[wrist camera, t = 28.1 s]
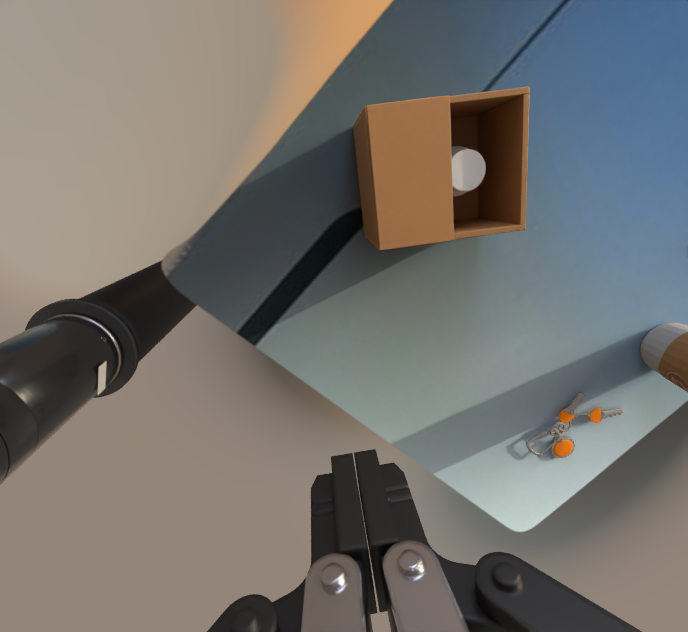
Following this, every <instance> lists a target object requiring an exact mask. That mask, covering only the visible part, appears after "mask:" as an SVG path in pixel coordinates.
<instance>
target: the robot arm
mask: <svg viewBox="0 0 688 632" xmlns="http://www.w3.org/2000/svg"><path fill="white" fill-rule="evenodd" d="M123 361H124V353H123V348H122V345H121V343H120V341H119V339H118V337H117V336H116V334H115V333H114V332H113V331H112V330H111V328H109V327H108V326H107V325H106V324H105V323H103V322H102V321H100V320H98V319H97V318H94V317H92V316H89V315H86V314H82V313H74V312H69V313H62V314H58V315H55V316H53V317H51V318H49V319H47V320H45V321H43V322H42V323H41V324H39V325H37V326H35V327H33V328H30V329H28V330H26V331H24V332H22V333H20V334H18V335H16V336H14V337H12V338H10V339H8V340H6V341H4V342H2V343H0V484H2V483H3V482H4V481H5V480H6V479H7V478H8V477H9V476H10V475H11V474H12V473H13V472H14V471H15V470H16V469H18V468H19V466H21V465H22V464H23V463H24V462H25V461H26V460H27V459H28V458H29V457H30V456H31V455H32V454H33V453H34V452H35V451H37V450H38V449H39V448H40V447H41V446H42V445H43V444H44V443H45V442H46V441H47V440H48V439H49V438H50V437H52V435H54V434H55V433H56V432H57V431H58V430H59V429H60V428H61V427H62V426H63V425H64V424H65V423H66V422H67V421H69V420H70V419H71V418H72V417H73V416H74V415H75V414H76V413H77V412H78V411H79V410H80V409H81V408H83V407H84V406H85V405H86V404H87V403H88V402H89V401H90V400H91V399H92V398H93V397H94V396H95V395H97V394H98V395H99V394H100V393H101V392H102V391H103V390H104V389H105V387H106V386H107V385H108V384H110V383H111V382H112V381H113V380H114V379H115V378H116V377H117V376H118V374H119V373H120V371H121V369H122V366H123ZM354 456H355V463H356V470H357V477H358V484H359V491H360V497H359V491H358V485H357V479H356V473H355V467H354V461H353V455H352V453H350V454H344V455H338V456H332V457H331V463H332V473H330V474H324V475H318V476H317V477H316V479H315V481H314V483H313V486H312V488H311V566H310V569H309V571H308V573H307V576H306V578H305V579H304V581H303V582H302V583H301V584H300V585H299V586H298V587H297V588H296V589H295V590H294V591H292V592H291V593H289V594H287V595H285V596H283V597H282V598H280V599H278V600H276V601H274V602H271V601H270V600H269V599H268V598H266V597H264V596H262V595H255V594H253V595H248V596H244V597H242V598H240V599H238V600H236V601H235V602H234V603H232V604H231V605H230V606H229V607H228V608H227V609H226V610H225V611H224V612H223V614H222V615H221V616H220V617H219V618H218V620H217V621H216V622H215V623H214V624H213V625H212V627H211V628H210V629H209V630H208V631H207V632H373V631H372V624H371V617H370V614H374V613H377V607H376V601H375V594H374V586H373V580H372V573H371V565H370V558H369V551H370V557H371V563H372V569H373V575H374V580H375V587H376V593H377V599H378V605H379V611H380V612H384V611H388V616H389V622H390V627H391V632H642V631H640V630H638V629H637V628H635V627H633V626H632V625H630V624H628V623H627V622H625V621H623V620H621V619H620V618H618V617H617V616H615V615H613V614H611V613H610V612H608V611H607V610H604V609H603V608H601V607H600V606H598V605H596V604H595V603H593V602H592V601H590V600H588V599H586V598H585V597H583V596H581V595H580V594H578V593H577V592H575V591H573V590H572V589H570V588H568V587H567V586H565V585H563V584H561V583H560V582H558V581H557V580H555V579H553V578H552V577H550V576H548V575H546V574H545V573H543V572H541V571H540V570H538V569H537V568H535V567H533V566H531V565H530V564H528V563H527V562H525V561H523V560H522V559H520V558H518V557H516V556H514V555H511V554H508V553H504V552H493V553H489V554H487V555H485V556H483V557H482V558H481V559H480V560H479V561H478V563H477V565H469V564H461V563H456V562H452V561H449V560H447V559H445V558H443V557H441V556H440V555H438V554H437V553H436V552H435V551H434V550H433V549H432V548H431V547H430V545H429V544H428V542H427V539H426V537H425V534H424V531H423V528H422V525H421V522H420V519H419V516H418V513H417V510H416V507H415V504H414V501H413V499H412V495H411V493H410V490H409V487H408V484H407V481H406V478H405V475H404V472H403V471H402V470H400V468H399V467H398V466H397V465H396V464H395V463H389V464H383V465H379V461H378V458H377V453H376V450H374V449H373V450H367V451H361V452H356V453H354ZM360 498H361V503H360ZM361 504H362V509H361ZM362 510H363V516H364V521H363V516H362ZM364 522H365V527H364ZM365 528H366V533H365ZM366 534H367V539H366ZM367 540H368V545H369V551H368V545H367Z"/></svg>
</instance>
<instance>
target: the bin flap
mask: <svg viewBox="0 0 688 632" xmlns="http://www.w3.org/2000/svg"><path fill="white" fill-rule="evenodd" d="M366 112H367V123H368V134H369V144H370V155H371V166H372V177H373V187H374V198H375V209H376V220H377V231H378V241H379V250H387V249H394V248H401V247H409V246H416V245H424V244H431V243H438V242H446V241H453V240H454V224H453V189H452V155H451V120H450V95H447V96H439V97H431V98H423V99H415V100H407V101H399V102H391V103H382V104H374V105H367V106H366Z"/></svg>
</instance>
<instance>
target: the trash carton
mask: <svg viewBox="0 0 688 632" xmlns="http://www.w3.org/2000/svg"><path fill="white" fill-rule="evenodd" d="M529 93H530V87H521V88H513V89H505V90H497V91H489V92H481V93H473V94H465V95H457V96H450V120H451V147H453V146H462V147H466V148H468V149H472V150H475V151H477V152H478V153H480V154H481V156H482V157H483V159H484V161H485V166H486V171H485V176H484V178H483V180H482V182H481V183H480V184H479V186H477V187H476V188H475V189H473V190H471V191H468V192H467V193H465V194H463V195H460V196H456V197H453V224H454V239H461V238H468V237H475V236H483V235H490V234H498V233H505V232H512V231H520V230H525V223H526V193H527V160H528V127H529V95H530V94H529ZM353 132H354V141H355V151H356V160H357V170H358V180H359V189H360V199H361V208H362V218H363V228H364V236H365V237H366V238H367V239H368V240H369V241H370V242H371V243H372V244H373V245H374V246H375V247H376V248H377V249H378V250H379V241H378V231H377V220H376V209H375V198H374V187H373V177H372V166H371V155H370V144H369V134H368V123H367V112H366V107H364V109H363V110H362V112H361V114H360V116H359V117H358V119H357V121H356V122H355V124H354V126H353Z"/></svg>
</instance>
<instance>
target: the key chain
mask: <svg viewBox="0 0 688 632" xmlns="http://www.w3.org/2000/svg"><path fill="white" fill-rule="evenodd" d="M584 396H585V395H584V394H583V393H579V394H577V397H576V399H575V398H574V401H571V406H570V405H569V406H568V407H567V408H568V409H563V410H562V411H561V412H560V414H559V420H560V421H559V422H558V423H555V424H554V425H553V426H552V427H551V428H549V429H547V430H545V431H543V432H541V433H539V434H538V435H536V436H534V437H532V438H531V439H529V440H528V441H527V442H526V445H527V447H528V449H529V450H530V451H531V452H532V453H533V454H535V455H537V456H541V455H542V454H544V452H545V451H547V450H548V449H549V448H550V447H551V452H552V454H553V455H554V456H555V457H558V458H564V457H566V456H568V455H570V454H571V453H572V452H573V450H574V447H575V445H574V442H573V441H572V440H571V439H570V438H567V437H563V438H562V436H561V434H562V433H563V432H565V431H568V430H570V428H571V426H572V423H571V420H573V418H574V417H577V416H581V415H583V416H589V418H590V420H591V421H592V422H599V421H601V420H602V419H603V418H606V417H607V416H609V417H612V415H613V416H616V414H618V415H621V413H623V408H619V409H614V410H609V411H603V410H602V409H601V408H597V409H594V410H593V411H592V412H591V413H590V414H587V413H586V414H585V413H579V414H575V415H574V412H573V411H574V410H575V408H576V407H577V406H578V404H579V403H580V401H581V400H582V399H583V397H584ZM562 422H563V423H562ZM568 422H569V427H568V428H567V429H565V428H566V425H565V424H564V423H568ZM560 425H563V428H562V429H561V428H560ZM556 426H558V429H559V430H560V431H559V432H558V431H557V430H556V429H555V427H556ZM549 431H550V434H551V435H554V436H557V435H558V437H554V438H553V441H554V442H553V443H552V444H551V445H550V446H549V447H547V448H546V449H545V450H544V451H543V452H540V453H537V452H535V451H534V450H533V449H532V448H531V447H530V445H529V443H530V442H532V441H533V440H535V439H536V438H538V437H540V436H542V435H543V434H545V433H547V432H549ZM552 431H554V432H555V433H553V432H552ZM555 438H557V439H556V440H554V439H555Z"/></svg>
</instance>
